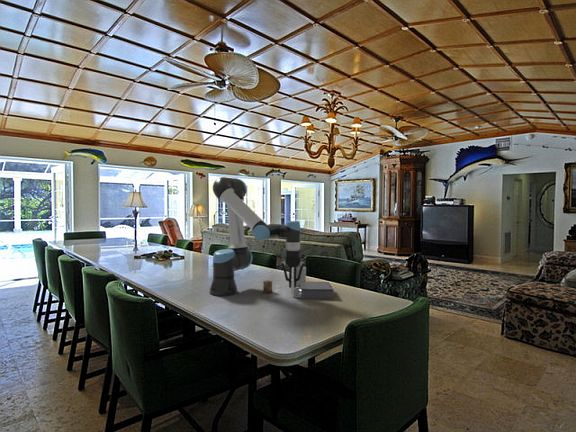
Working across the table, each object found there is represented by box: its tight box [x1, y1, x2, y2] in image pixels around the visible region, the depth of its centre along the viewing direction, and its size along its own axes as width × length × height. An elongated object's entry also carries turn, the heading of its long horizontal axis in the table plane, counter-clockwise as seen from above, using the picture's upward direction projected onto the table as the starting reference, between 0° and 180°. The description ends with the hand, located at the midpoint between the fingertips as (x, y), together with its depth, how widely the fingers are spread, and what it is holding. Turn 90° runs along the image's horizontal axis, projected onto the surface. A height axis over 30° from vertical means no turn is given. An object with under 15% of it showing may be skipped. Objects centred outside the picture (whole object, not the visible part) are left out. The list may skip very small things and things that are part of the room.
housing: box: [299, 281, 334, 300], centre depth 189 cm, size 17×18×5 cm
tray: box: [293, 286, 301, 299], centre depth 189 cm, size 17×16×4 cm
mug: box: [291, 265, 307, 287], centre depth 212 cm, size 12×8×11 cm
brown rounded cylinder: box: [262, 279, 273, 294], centre depth 193 cm, size 5×5×6 cm
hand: (292, 293), depth 184 cm, fingers closed
